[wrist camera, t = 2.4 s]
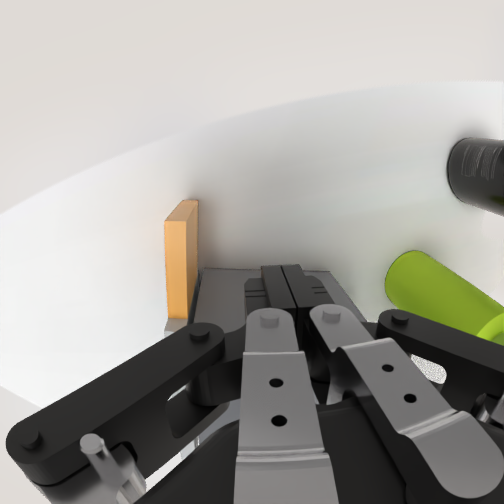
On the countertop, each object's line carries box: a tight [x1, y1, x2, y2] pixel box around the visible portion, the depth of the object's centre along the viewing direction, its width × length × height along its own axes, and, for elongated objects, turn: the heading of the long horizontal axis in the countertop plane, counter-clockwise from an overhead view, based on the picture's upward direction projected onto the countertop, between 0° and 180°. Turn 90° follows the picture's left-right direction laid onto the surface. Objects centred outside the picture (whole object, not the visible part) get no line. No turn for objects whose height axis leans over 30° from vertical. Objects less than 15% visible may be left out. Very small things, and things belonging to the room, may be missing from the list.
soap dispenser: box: [385, 251, 504, 346], centre depth 19 cm, size 6×7×20 cm
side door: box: [164, 200, 199, 461], centre depth 23 cm, size 21×1×10 cm, turn 177°
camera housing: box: [194, 268, 367, 445], centre depth 24 cm, size 14×13×11 cm
